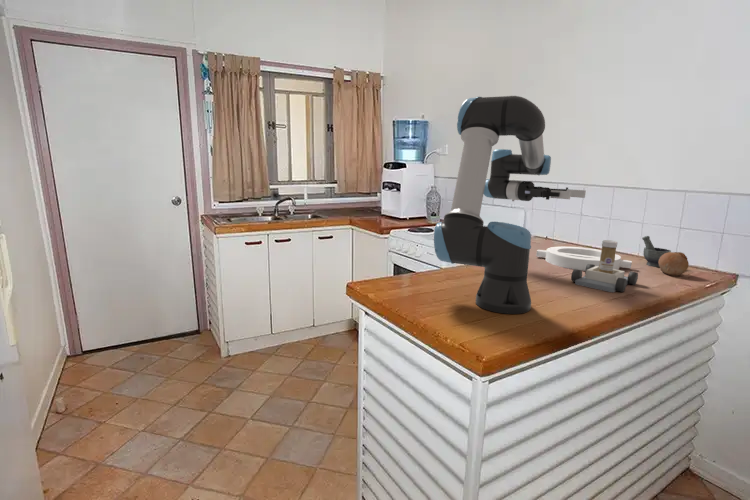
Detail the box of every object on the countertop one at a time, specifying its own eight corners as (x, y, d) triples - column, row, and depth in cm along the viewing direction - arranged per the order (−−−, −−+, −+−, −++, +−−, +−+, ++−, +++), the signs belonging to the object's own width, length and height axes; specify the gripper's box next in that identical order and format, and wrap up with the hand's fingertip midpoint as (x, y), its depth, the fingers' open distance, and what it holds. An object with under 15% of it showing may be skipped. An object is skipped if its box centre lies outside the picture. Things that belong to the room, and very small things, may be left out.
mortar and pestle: (672, 266, 174) (677, 238, 172) (663, 269, 169) (668, 240, 166) (643, 261, 183) (647, 234, 181) (633, 263, 178) (637, 236, 175)
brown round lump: (680, 282, 161) (699, 261, 157) (670, 279, 155) (689, 257, 152) (658, 268, 168) (675, 248, 164) (648, 265, 162) (665, 243, 159)
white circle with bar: (532, 257, 186) (533, 247, 185) (585, 255, 192) (586, 245, 191) (575, 273, 159) (577, 261, 158) (635, 271, 166) (637, 259, 165)
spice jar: (600, 280, 144) (606, 241, 141) (594, 276, 148) (600, 239, 145) (614, 280, 143) (620, 242, 141) (608, 277, 148) (613, 240, 145)
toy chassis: (619, 294, 133) (622, 280, 132) (569, 282, 145) (570, 270, 144) (637, 283, 147) (639, 270, 146) (590, 273, 158) (591, 262, 157)
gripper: (534, 199, 171) (589, 203, 156) (503, 201, 154) (561, 207, 139) (536, 180, 169) (592, 183, 154) (505, 181, 152) (564, 184, 137)
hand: (577, 194), depth 147 cm, fingers open, 13 cm apart
